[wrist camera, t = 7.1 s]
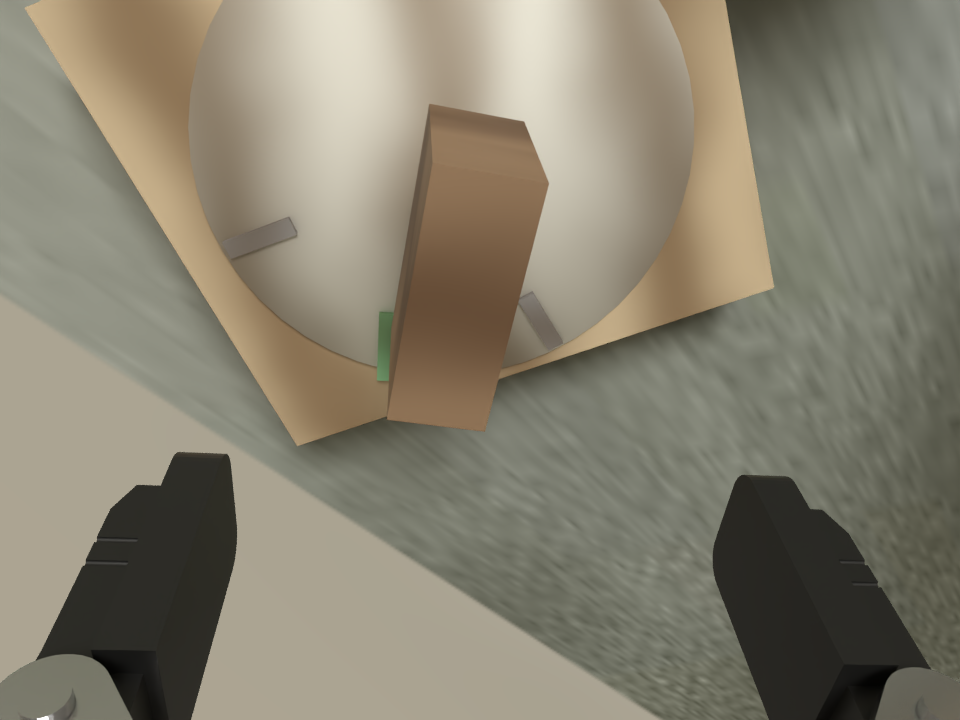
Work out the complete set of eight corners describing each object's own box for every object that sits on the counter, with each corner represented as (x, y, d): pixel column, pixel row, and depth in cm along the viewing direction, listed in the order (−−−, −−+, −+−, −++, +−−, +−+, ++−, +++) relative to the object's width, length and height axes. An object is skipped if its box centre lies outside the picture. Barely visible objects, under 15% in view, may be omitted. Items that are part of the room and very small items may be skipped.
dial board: (641, -254, 24) (683, -274, 20) (736, 242, 33) (778, 292, 29) (75, -13, 26) (18, 10, 22) (308, 388, 35) (296, 452, 31)
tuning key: (426, 58, 24) (432, 163, 16) (505, 74, 24) (549, 183, 16) (377, 361, 29) (363, 550, 21) (441, 370, 30) (451, 559, 22)
